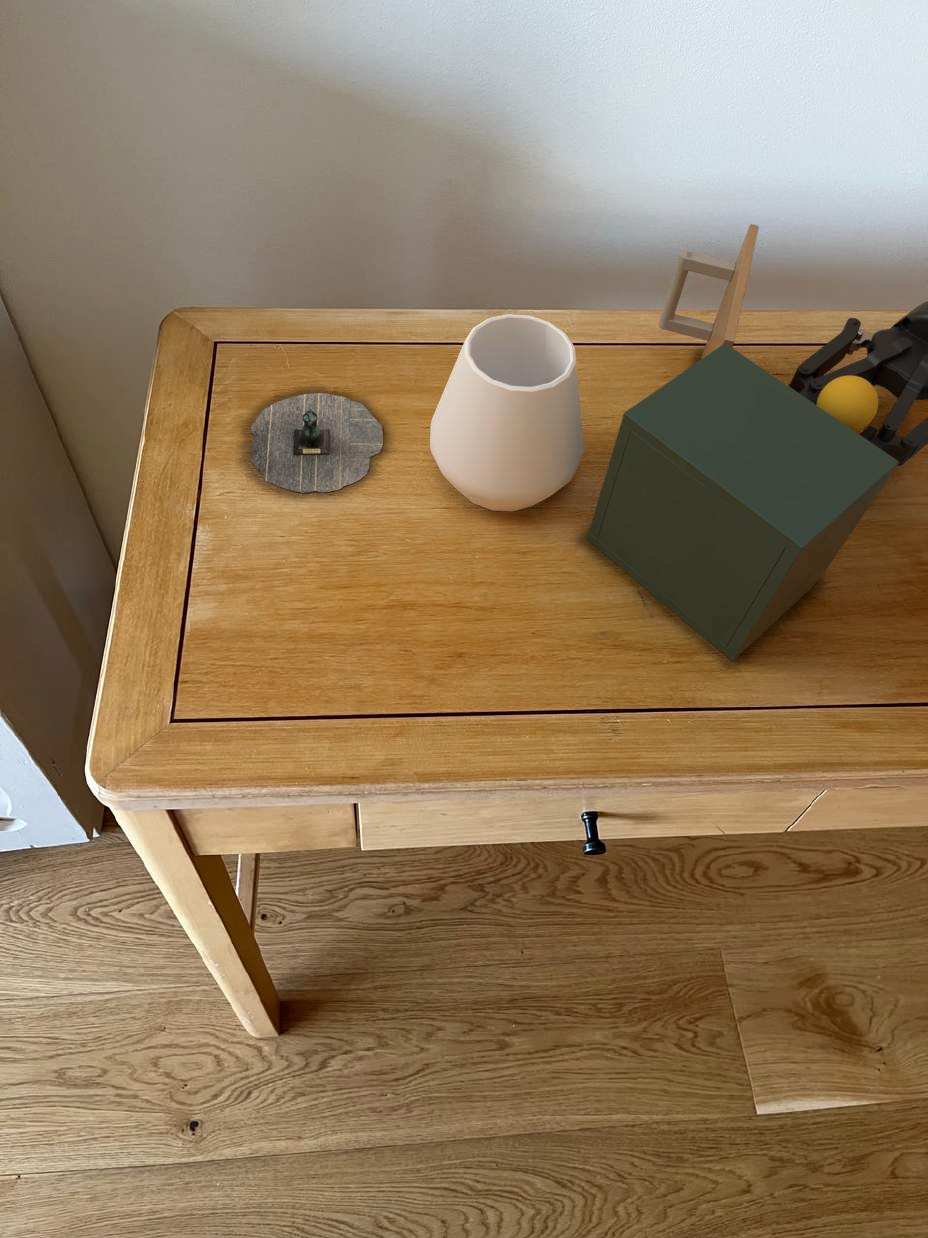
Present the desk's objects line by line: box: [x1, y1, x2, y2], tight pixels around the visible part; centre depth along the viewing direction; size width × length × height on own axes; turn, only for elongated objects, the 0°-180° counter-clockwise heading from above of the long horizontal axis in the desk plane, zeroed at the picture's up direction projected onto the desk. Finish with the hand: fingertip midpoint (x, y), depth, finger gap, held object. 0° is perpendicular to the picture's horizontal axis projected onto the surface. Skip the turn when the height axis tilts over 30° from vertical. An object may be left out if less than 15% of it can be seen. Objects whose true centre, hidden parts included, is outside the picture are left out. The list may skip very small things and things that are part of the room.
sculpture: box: [249, 392, 384, 494], centre depth 84 cm, size 12×9×8 cm
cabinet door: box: [658, 223, 760, 360], centre depth 83 cm, size 6×16×15 cm, turn 163°
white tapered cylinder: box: [429, 313, 585, 512], centre depth 77 cm, size 13×13×14 cm
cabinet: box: [586, 343, 899, 662], centre depth 73 cm, size 12×16×15 cm
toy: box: [817, 375, 879, 434], centre depth 77 cm, size 5×5×11 cm
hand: (796, 458), depth 75 cm, fingers closed on toy, 4 cm apart
